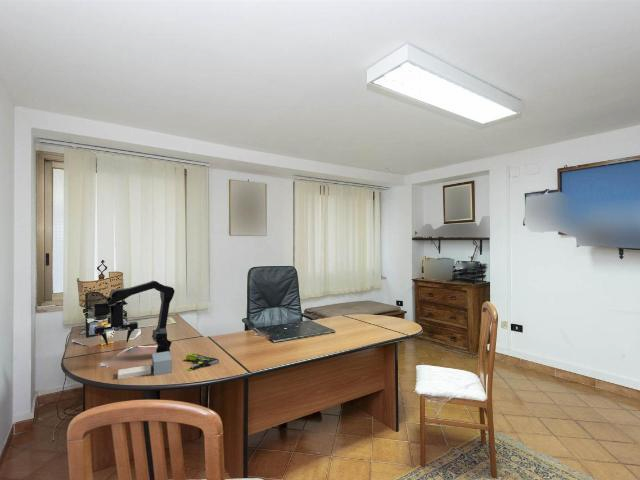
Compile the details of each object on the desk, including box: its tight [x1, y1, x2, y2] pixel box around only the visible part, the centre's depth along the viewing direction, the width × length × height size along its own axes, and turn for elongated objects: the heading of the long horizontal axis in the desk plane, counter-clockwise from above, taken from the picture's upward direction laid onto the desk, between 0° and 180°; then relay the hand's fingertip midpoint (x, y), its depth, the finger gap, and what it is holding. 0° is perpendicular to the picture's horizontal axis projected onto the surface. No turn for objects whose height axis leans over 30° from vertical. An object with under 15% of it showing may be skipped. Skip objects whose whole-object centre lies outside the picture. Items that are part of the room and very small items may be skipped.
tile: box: [117, 364, 152, 380], centre depth 163 cm, size 14×7×2 cm, turn 118°
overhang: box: [151, 351, 173, 376], centre depth 169 cm, size 8×14×6 cm, turn 30°
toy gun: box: [185, 353, 220, 372], centre depth 175 cm, size 20×4×15 cm
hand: (117, 344), depth 172 cm, fingers open, 8 cm apart
